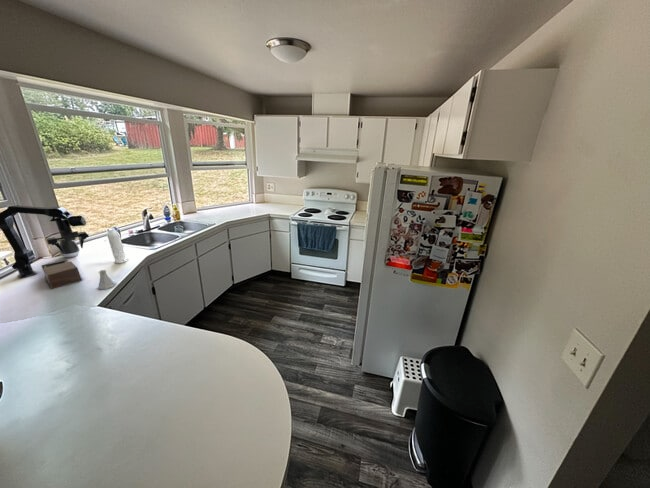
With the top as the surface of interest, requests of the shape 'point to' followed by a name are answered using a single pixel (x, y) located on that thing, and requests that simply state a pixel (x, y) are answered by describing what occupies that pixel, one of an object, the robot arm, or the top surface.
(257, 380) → the top surface
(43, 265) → the drawer
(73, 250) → the black rounded dome
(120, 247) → the white statue
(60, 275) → the cabinet
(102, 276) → the flask
